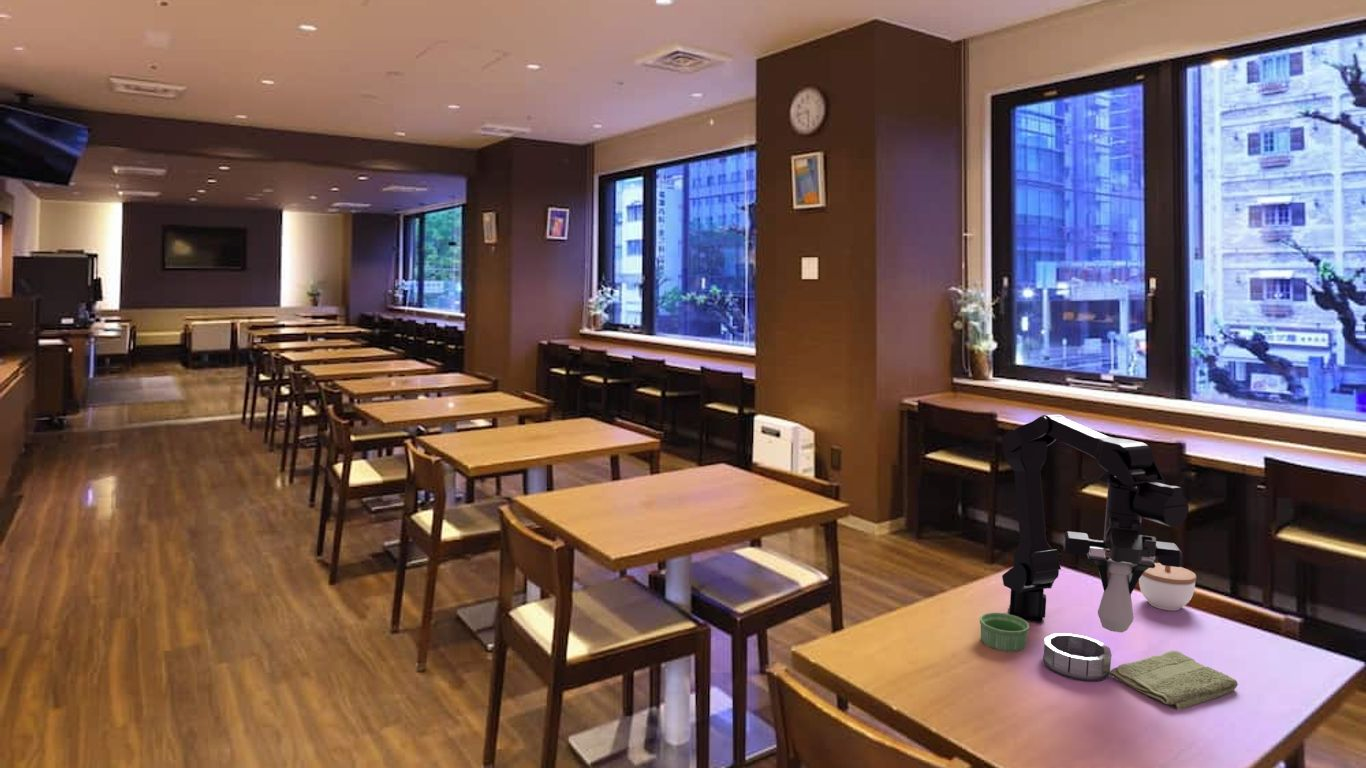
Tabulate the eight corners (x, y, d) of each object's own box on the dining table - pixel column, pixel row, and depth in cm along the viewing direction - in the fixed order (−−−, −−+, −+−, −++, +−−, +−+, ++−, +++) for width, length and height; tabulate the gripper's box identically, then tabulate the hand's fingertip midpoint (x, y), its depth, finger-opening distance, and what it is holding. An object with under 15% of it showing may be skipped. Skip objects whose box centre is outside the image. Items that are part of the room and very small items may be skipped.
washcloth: (1104, 678, 145) (1105, 661, 144) (1173, 662, 151) (1174, 645, 151) (1172, 715, 133) (1174, 696, 132) (1244, 695, 139) (1246, 677, 139)
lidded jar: (1129, 604, 178) (1132, 562, 177) (1146, 592, 185) (1149, 552, 184) (1184, 619, 170) (1188, 576, 169) (1199, 606, 177) (1203, 564, 176)
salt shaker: (1123, 621, 153) (1129, 555, 151) (1138, 635, 147) (1144, 565, 145) (1091, 620, 153) (1096, 553, 151) (1104, 633, 147) (1110, 564, 146)
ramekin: (977, 648, 155) (978, 626, 155) (979, 630, 164) (980, 609, 163) (1028, 657, 152) (1029, 634, 151) (1027, 638, 160) (1029, 616, 160)
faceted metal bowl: (1043, 674, 145) (1044, 652, 145) (1042, 649, 155) (1043, 629, 155) (1112, 686, 141) (1114, 664, 140) (1106, 660, 151) (1108, 639, 150)
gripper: (1070, 516, 143) (1063, 601, 145) (1193, 529, 136) (1184, 618, 138) (1065, 501, 153) (1059, 580, 155) (1179, 512, 147) (1171, 595, 149)
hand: (1116, 593), depth 149 cm, fingers closed on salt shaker, 3 cm apart
